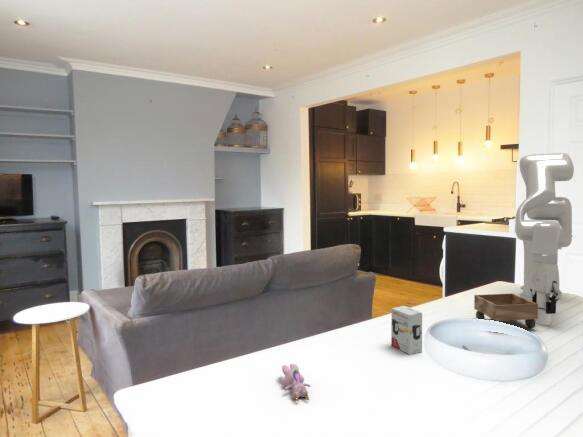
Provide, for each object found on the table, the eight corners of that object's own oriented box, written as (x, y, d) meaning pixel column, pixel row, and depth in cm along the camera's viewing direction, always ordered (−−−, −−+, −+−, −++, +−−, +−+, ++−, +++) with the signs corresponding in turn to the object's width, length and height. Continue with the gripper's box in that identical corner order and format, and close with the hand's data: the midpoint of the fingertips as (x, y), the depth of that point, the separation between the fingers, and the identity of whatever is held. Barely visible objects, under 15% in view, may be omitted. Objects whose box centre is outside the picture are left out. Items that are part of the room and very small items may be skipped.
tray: (474, 319, 150) (474, 295, 149) (511, 317, 151) (512, 293, 150) (496, 332, 136) (496, 305, 136) (537, 330, 137) (537, 303, 137)
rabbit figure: (315, 406, 96) (299, 369, 110) (316, 383, 94) (299, 348, 108) (289, 410, 94) (275, 372, 108) (289, 387, 93) (275, 351, 107)
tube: (546, 321, 146) (547, 279, 145) (553, 325, 142) (554, 281, 141) (534, 321, 147) (534, 279, 146) (540, 325, 143) (540, 281, 142)
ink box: (390, 345, 128) (390, 307, 127) (403, 342, 130) (403, 305, 129) (409, 355, 120) (409, 314, 119) (422, 352, 122) (422, 312, 121)
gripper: (518, 255, 151) (517, 304, 153) (551, 263, 134) (550, 318, 135) (538, 254, 152) (537, 303, 153) (573, 262, 135) (572, 317, 136)
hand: (543, 310), depth 144 cm, fingers open, 6 cm apart
